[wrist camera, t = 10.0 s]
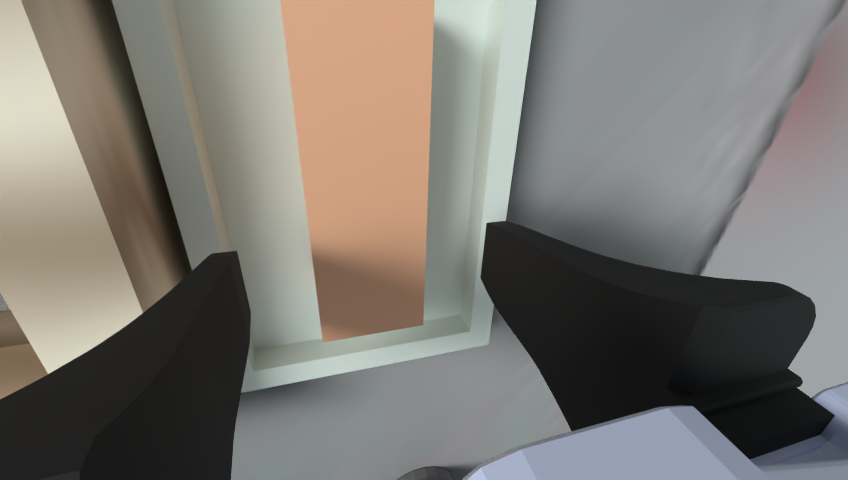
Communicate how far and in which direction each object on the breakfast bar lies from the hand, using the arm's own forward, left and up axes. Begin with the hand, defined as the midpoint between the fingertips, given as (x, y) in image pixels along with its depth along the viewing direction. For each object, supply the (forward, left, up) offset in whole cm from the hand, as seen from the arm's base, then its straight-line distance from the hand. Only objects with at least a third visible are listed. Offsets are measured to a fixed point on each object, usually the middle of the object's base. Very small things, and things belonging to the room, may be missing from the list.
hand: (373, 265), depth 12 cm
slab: (+2, 0, -4) cm, 4 cm away
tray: (+1, 0, -4) cm, 5 cm away
